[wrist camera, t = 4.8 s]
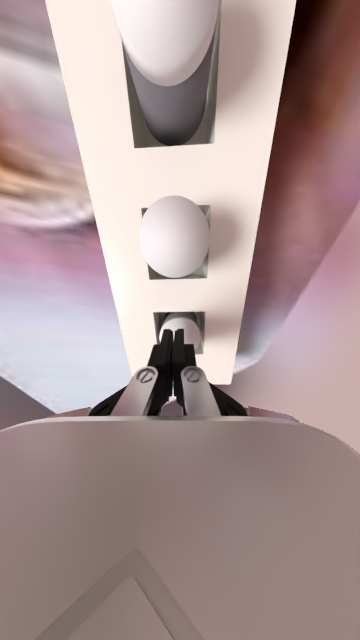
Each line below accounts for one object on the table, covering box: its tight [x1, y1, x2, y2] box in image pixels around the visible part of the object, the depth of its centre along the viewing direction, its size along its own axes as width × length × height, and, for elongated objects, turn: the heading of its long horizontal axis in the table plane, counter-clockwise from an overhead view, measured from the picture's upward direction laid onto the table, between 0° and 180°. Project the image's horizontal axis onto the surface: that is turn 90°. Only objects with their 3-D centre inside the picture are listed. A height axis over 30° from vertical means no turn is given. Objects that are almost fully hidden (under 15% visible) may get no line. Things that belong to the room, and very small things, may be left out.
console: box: [45, 0, 296, 384], centre depth 13 cm, size 30×12×5 cm, turn 2°
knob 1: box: [110, 0, 219, 146], centre depth 6 cm, size 4×4×4 cm
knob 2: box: [159, 312, 200, 350], centre depth 15 cm, size 4×4×4 cm
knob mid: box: [139, 195, 210, 278], centre depth 10 cm, size 4×4×4 cm
